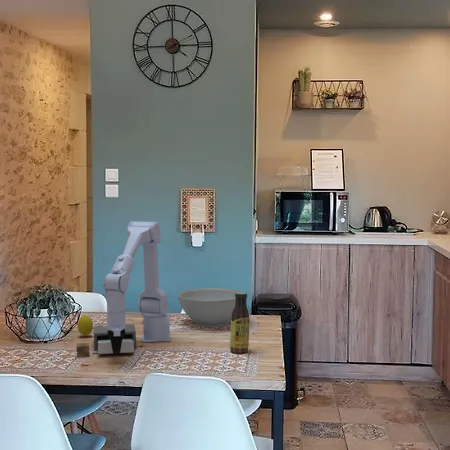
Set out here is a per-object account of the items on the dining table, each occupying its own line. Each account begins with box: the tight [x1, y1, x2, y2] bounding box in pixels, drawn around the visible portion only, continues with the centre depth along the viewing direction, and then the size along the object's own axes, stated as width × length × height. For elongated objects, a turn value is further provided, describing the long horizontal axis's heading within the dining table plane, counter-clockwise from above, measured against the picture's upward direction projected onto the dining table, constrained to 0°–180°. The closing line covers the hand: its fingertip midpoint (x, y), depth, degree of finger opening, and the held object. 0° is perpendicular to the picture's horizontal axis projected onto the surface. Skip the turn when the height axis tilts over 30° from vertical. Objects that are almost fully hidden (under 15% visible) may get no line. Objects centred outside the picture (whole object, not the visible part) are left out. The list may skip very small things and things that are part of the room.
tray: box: [97, 339, 134, 355], centre depth 215 cm, size 11×10×4 cm
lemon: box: [77, 314, 94, 337], centre depth 236 cm, size 6×6×8 cm
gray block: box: [93, 323, 137, 352], centre depth 224 cm, size 14×11×6 cm
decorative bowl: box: [177, 287, 242, 329], centre depth 257 cm, size 27×27×12 cm
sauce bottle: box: [229, 291, 251, 354], centre depth 217 cm, size 6×6×20 cm
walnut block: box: [76, 342, 90, 358], centre depth 212 cm, size 4×4×4 cm
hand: (116, 353), depth 206 cm, fingers closed
